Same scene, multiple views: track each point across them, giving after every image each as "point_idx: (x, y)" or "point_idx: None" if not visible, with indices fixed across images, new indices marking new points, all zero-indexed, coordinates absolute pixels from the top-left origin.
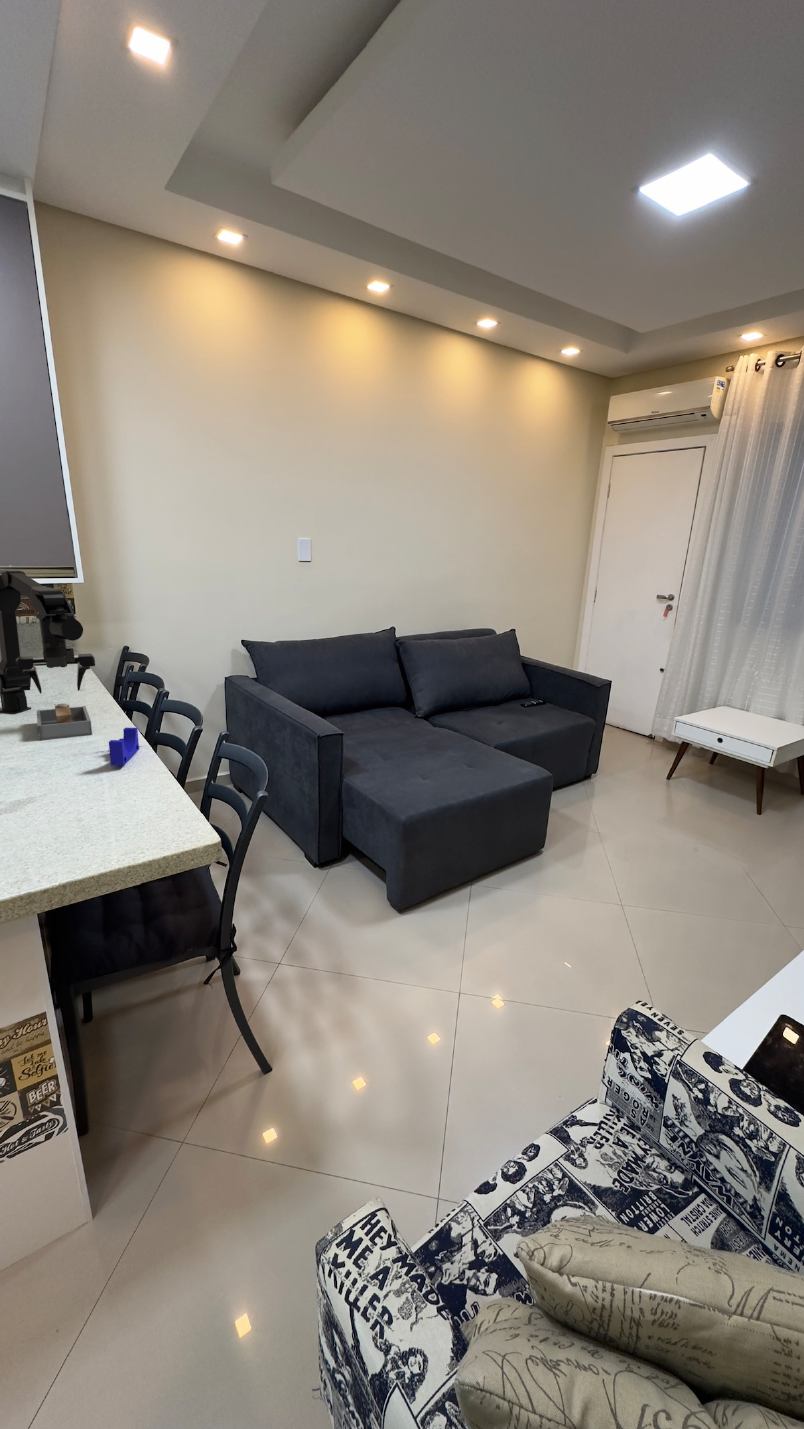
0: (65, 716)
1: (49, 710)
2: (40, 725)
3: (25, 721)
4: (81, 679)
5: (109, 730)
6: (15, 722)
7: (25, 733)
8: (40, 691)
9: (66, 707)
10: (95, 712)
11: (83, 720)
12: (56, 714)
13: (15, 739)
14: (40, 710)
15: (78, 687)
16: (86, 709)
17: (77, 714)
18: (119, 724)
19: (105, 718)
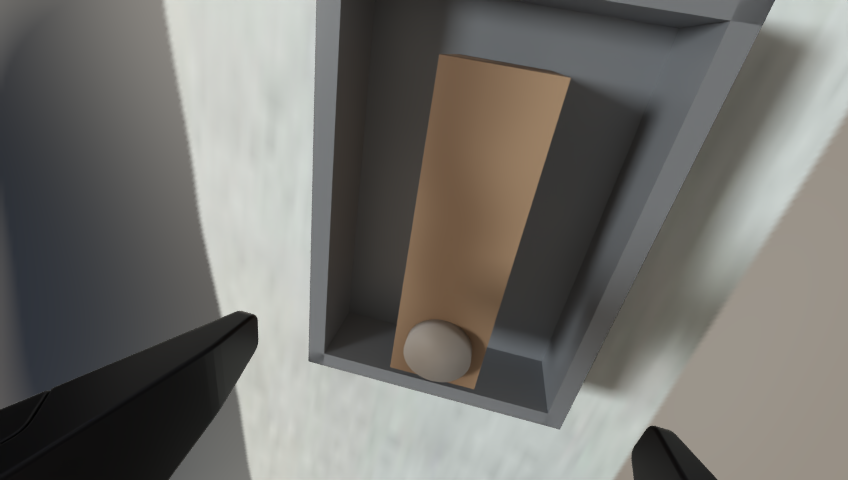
0: (493, 64)
1: (496, 397)
2: (741, 10)
3: (582, 427)
4: (50, 397)
5: (255, 9)
6: (624, 438)
7: (684, 240)
8: (675, 447)
9: (419, 309)
10: (293, 380)
11: (357, 270)
12: (549, 141)
13: (806, 142)
14: (542, 417)
15: (218, 332)
16: (310, 293)
17: (368, 333)
18: (200, 119)
19: (261, 272)
